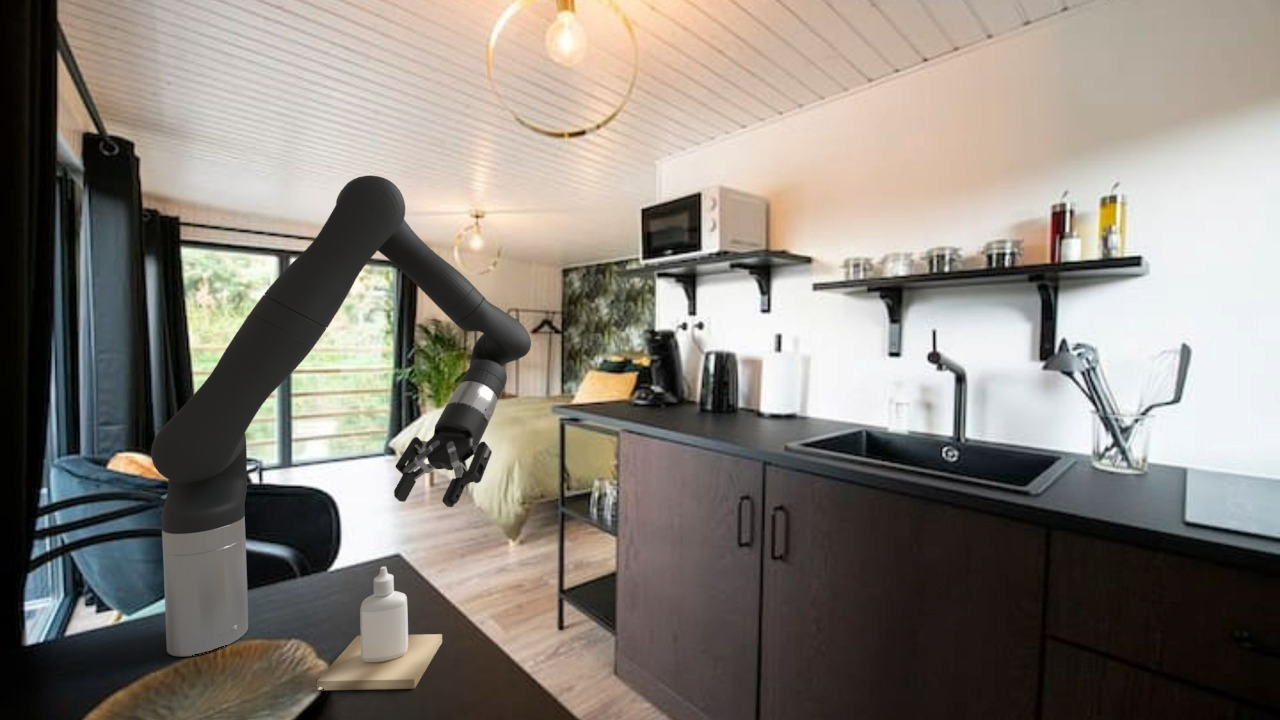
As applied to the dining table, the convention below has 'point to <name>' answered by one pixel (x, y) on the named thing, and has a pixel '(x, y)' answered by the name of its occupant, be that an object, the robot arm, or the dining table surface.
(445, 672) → the dining table surface
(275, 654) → the dining table surface
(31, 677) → the dining table surface
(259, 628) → the dining table surface
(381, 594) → the eye dropper bottle
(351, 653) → the oak board
